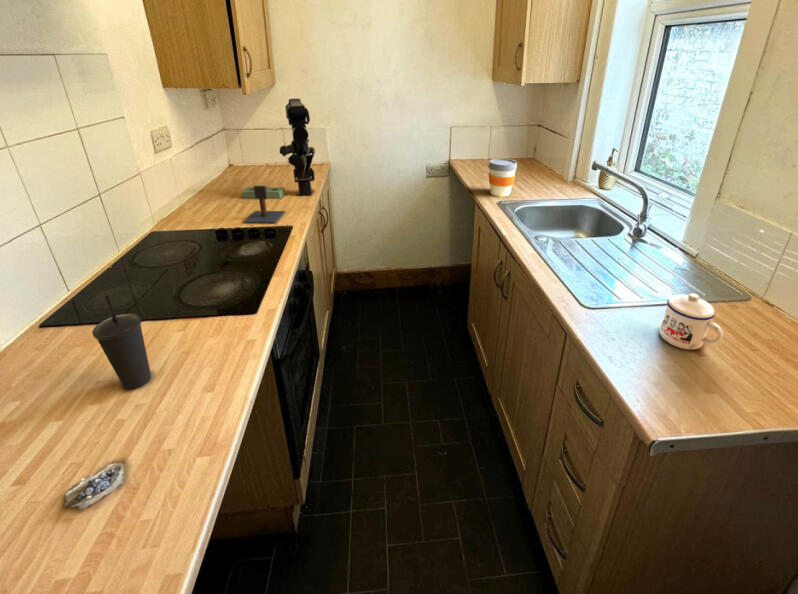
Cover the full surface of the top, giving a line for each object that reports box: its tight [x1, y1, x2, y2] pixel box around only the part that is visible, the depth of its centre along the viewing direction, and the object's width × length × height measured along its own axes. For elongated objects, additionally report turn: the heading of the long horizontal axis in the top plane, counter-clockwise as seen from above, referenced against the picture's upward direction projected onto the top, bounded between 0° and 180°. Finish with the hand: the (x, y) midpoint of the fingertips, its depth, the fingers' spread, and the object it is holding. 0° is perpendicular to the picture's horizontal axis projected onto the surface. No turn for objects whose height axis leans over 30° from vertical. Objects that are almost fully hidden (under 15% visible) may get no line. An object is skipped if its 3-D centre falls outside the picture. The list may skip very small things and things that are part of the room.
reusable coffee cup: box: [488, 158, 518, 197], centre depth 191 cm, size 12×13×15 cm
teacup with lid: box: [659, 293, 724, 350], centre depth 93 cm, size 12×9×12 cm
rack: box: [241, 186, 286, 199], centre depth 190 cm, size 7×17×3 cm, turn 89°
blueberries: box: [63, 462, 125, 511], centre depth 63 cm, size 7×8×2 cm
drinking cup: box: [91, 295, 152, 390], centre depth 79 cm, size 8×8×20 cm
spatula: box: [253, 184, 269, 217], centre depth 163 cm, size 2×4×12 cm, turn 89°
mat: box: [243, 210, 285, 224], centre depth 165 cm, size 12×12×1 cm
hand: (304, 175), depth 174 cm, fingers open, 9 cm apart
